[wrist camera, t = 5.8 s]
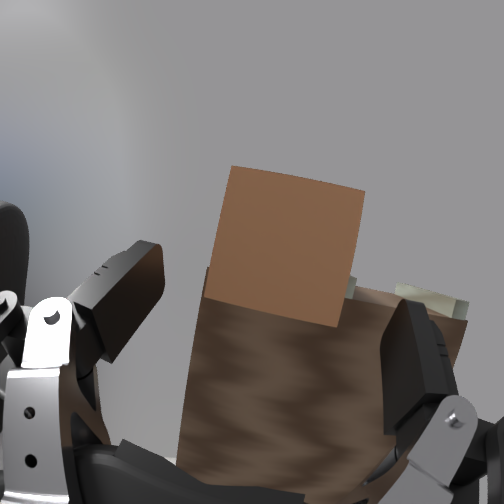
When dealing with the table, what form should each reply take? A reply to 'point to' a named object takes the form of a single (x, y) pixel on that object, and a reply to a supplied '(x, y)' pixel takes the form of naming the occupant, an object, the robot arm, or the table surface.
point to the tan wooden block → (285, 245)
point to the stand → (295, 393)
